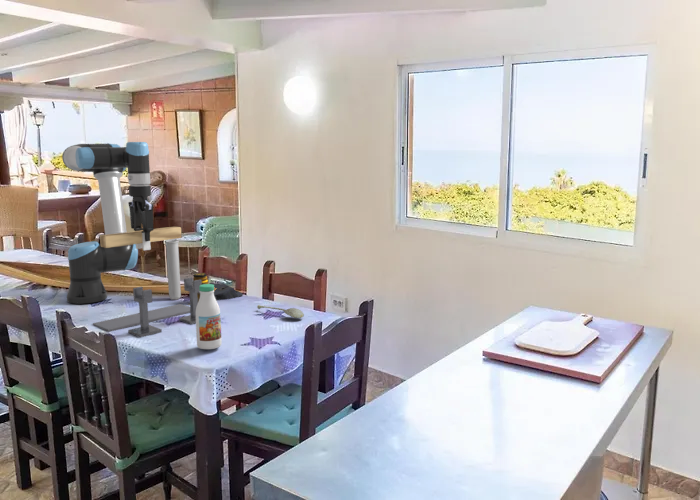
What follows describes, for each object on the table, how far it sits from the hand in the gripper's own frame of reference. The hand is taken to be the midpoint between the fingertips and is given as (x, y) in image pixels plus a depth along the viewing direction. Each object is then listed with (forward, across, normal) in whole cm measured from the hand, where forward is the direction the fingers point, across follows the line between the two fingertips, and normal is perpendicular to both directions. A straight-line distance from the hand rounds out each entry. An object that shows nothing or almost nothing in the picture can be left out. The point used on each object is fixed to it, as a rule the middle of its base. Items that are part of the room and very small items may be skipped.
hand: (143, 248), depth 222 cm
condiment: (+27, -4, +26) cm, 37 cm away
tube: (+27, -16, +22) cm, 38 cm away
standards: (+26, +16, 0) cm, 31 cm away
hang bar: (-3, 0, 0) cm, 3 cm away
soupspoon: (+25, +33, +33) cm, 53 cm away
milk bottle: (+26, +45, -4) cm, 52 cm away
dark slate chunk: (+27, -11, +40) cm, 50 cm away
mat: (+26, 0, 0) cm, 26 cm away
